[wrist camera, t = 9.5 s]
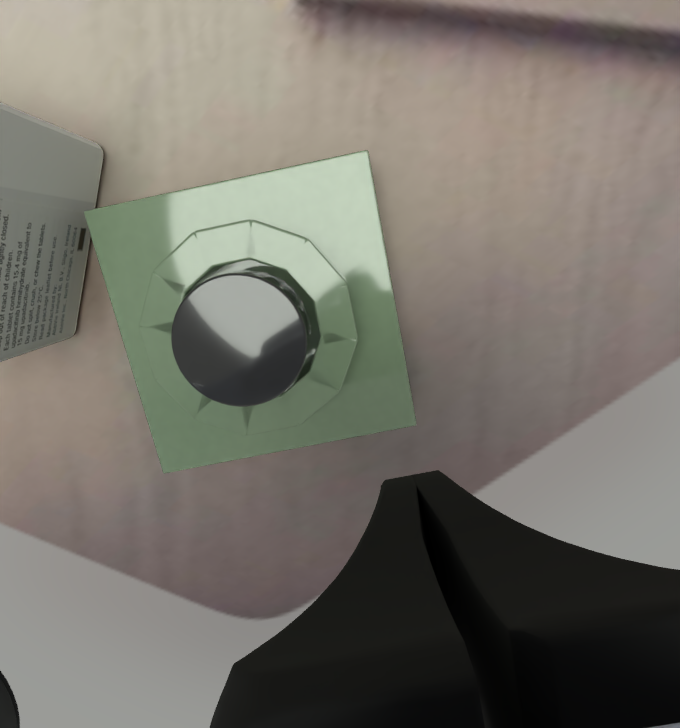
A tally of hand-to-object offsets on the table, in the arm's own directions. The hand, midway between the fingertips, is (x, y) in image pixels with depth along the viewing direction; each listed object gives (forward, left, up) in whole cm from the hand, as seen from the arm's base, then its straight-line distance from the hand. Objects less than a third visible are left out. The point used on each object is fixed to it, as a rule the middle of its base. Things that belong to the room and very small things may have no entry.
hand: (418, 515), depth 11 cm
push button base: (+4, +4, -10) cm, 12 cm away
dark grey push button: (+4, +4, -6) cm, 8 cm away
